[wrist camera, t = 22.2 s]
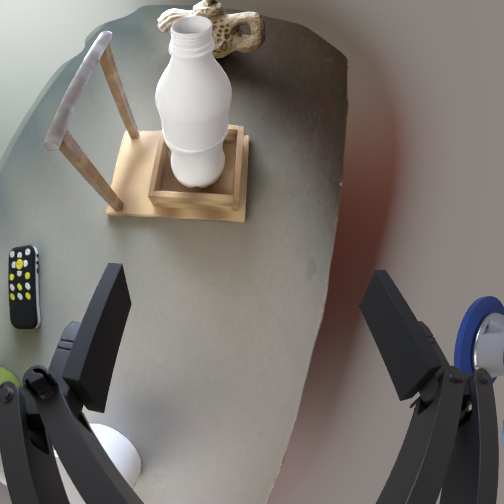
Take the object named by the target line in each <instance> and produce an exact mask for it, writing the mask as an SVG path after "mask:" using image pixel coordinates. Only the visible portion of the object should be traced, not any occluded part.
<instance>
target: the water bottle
mask: <svg viewBox="0 0 504 504" xmlns="http://www.w3.org/2000/svg"><path fill="white" fill-rule="evenodd" d="M170 32H171V37H172V38H171V41H170V45H169V53H170V54H171V55H172V58H171V61H170V63H169V65H168V66H167V68H166V69H165V71H164V73H163V74H162V76H161V78H160V80H159V82H158V85H157V89H156V95H155V99H156V107H157V109H158V111H159V114H160V118H161V122H162V126H163V127H162V132H163V136H164V140H165V143H166V144H167V146H168V147H169V148H170V149H171V152H172V154H171V167H172V171H173V173H174V175H175V177H176V178H177V180H178V181H179V182H180V183H181V184H183V185H184V186H186V187H188V188H194V187H196V186H198V187H200V188H207V187H209V186H211V185H212V184H214V183H215V182H216V181H217V180H218V179H219V177H220V176H221V173H222V171H223V169H224V163H225V155H224V152H223V141H224V138H225V137H226V135H227V133H228V115H229V106H230V103H231V100H232V89H231V84H230V81H229V79H228V76H227V75H226V73H225V72H224V70H223V69H222V67H221V66H220V65H219V63H218V62H217V61H216V60H215V58H214V56H213V54H212V52H213V50H214V48H215V43H214V40H213V37H212V23H211V21H210V20H209V19H208V18H206V17H202V16H188V17H183V18H180V19H178V20H176V21H175V22H173V24H172V25H171V30H170Z"/></svg>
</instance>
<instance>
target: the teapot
mask: <svg viewBox="0 0 504 504" xmlns="http://www.w3.org/2000/svg"><path fill="white" fill-rule="evenodd" d="M188 16H202V17H206V18H208V19H209V20H210V21H211V23H212V37H213V40H214V43H215V48H214V50H213V52H212V54H213V56H214V58H215V59H216V58H223V57H225V56H226V55H228V54H230V53H232V52H234V51H235V50H237V51H241V52H243V53H248V52H252V51H256V50H257V49H258V48H260V46H261V45H262V44H263V43H264V41H265V37H266V36H265V22H264V21H263V19H262V17H261V16H260V15H259V14H258V13H254V12H244V13H236V14H227V13H225V9H224V8H223V7H222V5H221V4H220V3H218V2H216V1H215V0H203V1H202V2H200V3H198V4H196V5H194V7H193V11H186V10H182V9H175V8H173V9H170V10H167V11H166V12H164V13H163V14H162V15H161V17H160V18H159V19H158V25H157V27H158V28H159V30H161V31H162V32H168V31H169V32H170V30H171V25H172V24H173V22H175V21H176V20H178V19H180V18H183V17H188ZM244 24H248V25H249V26H250V30H251V36H248V35H245V34H244V33H243V32H242V30H241V29H240V27H239V26H240V25H244ZM170 34H171V32H170Z"/></svg>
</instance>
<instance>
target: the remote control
mask: <svg viewBox="0 0 504 504" xmlns="http://www.w3.org/2000/svg"><path fill="white" fill-rule="evenodd" d="M9 306H10V319H11V323H12V325H13V326H14V327H15V328H17V329H36V328H38V326H39V325H40V321H41V318H40V306H39V287H38V251H37V249H36V248H35V247H33V246H30V245H28V246H22V247H16V248H13V249H12V250H11V252H10V254H9Z"/></svg>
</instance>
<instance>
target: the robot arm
mask: <svg viewBox="0 0 504 504" xmlns="http://www.w3.org/2000/svg"><path fill="white" fill-rule="evenodd" d="M359 307H360V310H361V312H362V314H363V316H364V318H365V320H366V322H367V324H368V327H369V329H370V331H371V333H372V335H373V338H374V339H375V342H376V344H377V346H378V349H379V351H380V353H381V356H382V358H383V360H384V363H385V365H386V367H387V370H388V372H389V374H390V377H391V379H392V382H393V384H394V386H395V389H396V392H397V394H398V396H399V399H400V401H402V400H406V399H409V398H412V397H413V396H414V395H415V394H416V393H417V392H418V391H419V393H420V397H419V398H417V400H415V401H414V402H413V403H412V404H411V406H410V408H412V407H413V406H414V405H415V404H416V406H415V408H414V413H413V416H412V419H411V422H410V425H409V428H408V431H407V434H406V436H405V439H404V442H403V445H402V447H401V450H400V452H399V455H398V457H397V460H396V462H395V464H394V467H393V469H392V471H391V474H390V476H389V478H388V480H387V482H386V485H385V486H384V488H383V490H382V493H381V494H380V496H379V498H378V500H377V502H376V504H436V501H437V499H438V496H439V493H440V490H441V488H442V491H441V498H440V504H496V498H497V487H498V466H499V465H498V464H499V450H498V448H499V447H498V427H497V416H496V405H495V398H494V391H493V385H492V379H491V378H494V377H498V376H501V375H504V315H502V314H499V313H488V314H486V315H485V316H484V317H483V318H482V319H481V321H480V322H479V324H478V326H477V328H476V331H475V333H474V337H473V340H472V346H471V356H470V359H471V368H472V371H473V374H463V373H462V371H461V370H460V369H459V368H457V367H455V366H450V365H449V363H448V361H447V359H446V358H445V356H444V354H443V352H442V351H441V349H440V347H439V345H438V344H437V342H436V340H435V338H434V337H433V335H432V333H431V331H430V329H429V328H428V327H427V326H426V325H425V324H424V323H423V322H422V321H419V322H418V321H417V319H416V317H415V316H414V314H413V312H412V311H411V309H410V307H409V306H408V304H407V302H406V301H405V299H404V298H403V296H402V295H401V293H400V291H399V290H398V288H397V287H396V285H395V284H394V282H393V281H392V279H391V278H390V276H389V275H388V273H387V272H386V271H385V270H375V271H374V273H373V275H372V278H371V280H370V282H369V285H368V287H367V289H366V292H365V294H364V296H363V299H362V301H361V303H360V305H359ZM130 308H131V300H130V296H129V291H128V287H127V283H126V278H125V274H124V269H123V264H116V263H108V265H107V267H106V269H105V271H104V274H103V276H102V278H101V280H100V282H99V284H98V286H97V288H96V290H95V293H94V295H93V297H92V299H91V301H90V304H89V306H88V308H87V311H86V313H85V315H84V318H83V320H82V322H81V323H79V322H71V323H70V324H69V325H68V326H67V327H66V328H65V329H64V331H63V334H62V336H61V340H60V341H59V343H58V346H57V348H56V351H55V353H54V356H53V359H52V361H51V364H50V367H49V369H48V370H47V369H46V368H45V367H43V366H34V367H31V368H30V369H28V370H27V372H26V373H25V374H24V377H23V387H19V388H18V387H17V386H16V385H15V384H14V383H13V382H11V381H5V382H3V383H1V384H0V452H1V458H2V463H3V468H4V473H5V478H6V482H7V486H8V490H9V494H10V498H11V501H12V504H70V502H69V499H68V497H67V494H66V491H65V488H64V485H63V482H62V479H61V476H60V472H59V469H58V465H57V462H56V458H55V454H54V450H53V447H54V449H55V451H56V453H57V455H58V457H59V459H60V461H61V463H62V465H63V467H64V468H65V470H66V472H67V474H68V476H69V477H70V479H71V481H72V483H73V484H74V486H75V488H76V489H77V491H78V492H79V494H80V496H81V497H82V499H83V500H84V502H85V503H86V504H144V503H143V502H142V501H141V499H140V498H139V497H138V496H137V494H136V493H135V492H134V491H133V489H132V488H131V487H130V486H129V484H128V483H127V482H126V480H125V479H124V478H123V476H122V475H121V473H120V472H119V471H118V469H117V468H116V466H115V465H114V463H113V462H112V460H111V459H110V457H109V456H108V454H107V453H106V451H105V450H104V448H103V447H102V445H101V443H100V442H99V440H98V438H97V437H96V435H95V433H94V432H93V430H92V428H91V426H90V425H89V423H88V421H87V419H86V417H85V415H84V414H83V412H82V408H83V404H84V406H85V407H86V408H87V409H88V410H91V411H96V412H101V413H104V411H105V405H106V401H107V396H108V391H109V386H110V382H111V378H112V373H113V369H114V365H115V361H116V357H117V353H118V349H119V346H120V342H121V338H122V335H123V331H124V328H125V324H126V321H127V317H128V314H129V311H130ZM471 404H472V410H471V411H469V406H470V405H471ZM501 441H502V444H503V445H504V422H503V428H502V432H501ZM52 445H53V446H52Z"/></svg>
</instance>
